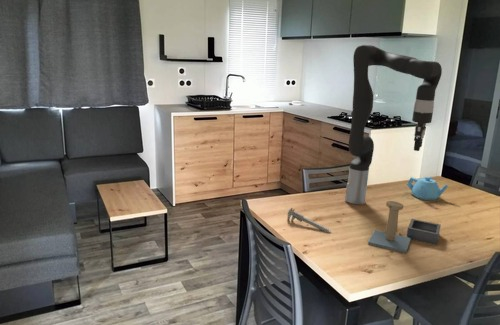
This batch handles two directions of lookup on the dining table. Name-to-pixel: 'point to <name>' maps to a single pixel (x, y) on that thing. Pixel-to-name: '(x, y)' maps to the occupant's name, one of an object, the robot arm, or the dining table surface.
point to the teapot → (425, 188)
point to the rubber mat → (381, 241)
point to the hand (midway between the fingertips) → (417, 148)
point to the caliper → (305, 220)
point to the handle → (392, 219)
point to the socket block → (423, 231)
